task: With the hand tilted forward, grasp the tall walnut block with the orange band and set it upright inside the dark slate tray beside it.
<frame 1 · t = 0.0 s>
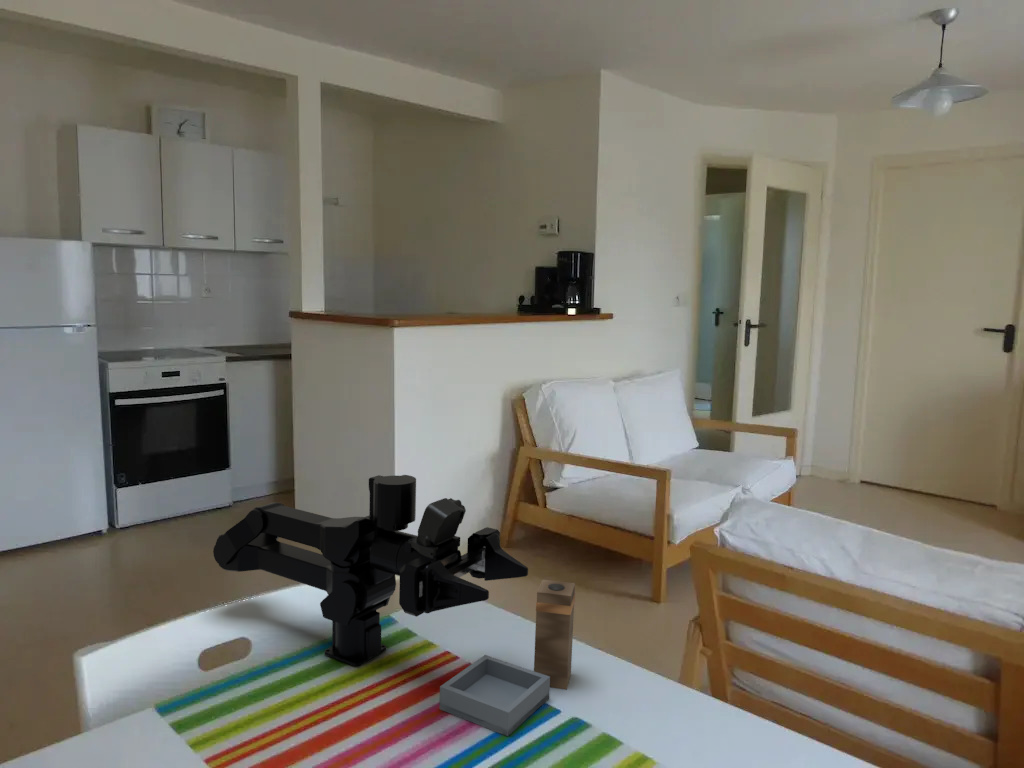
hand: (508, 583, 92), 16 cm above the table, tool horizontal, fingers open, 9 cm apart
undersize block: (552, 678, 102), on the table
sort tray: (495, 703, 95), on the table
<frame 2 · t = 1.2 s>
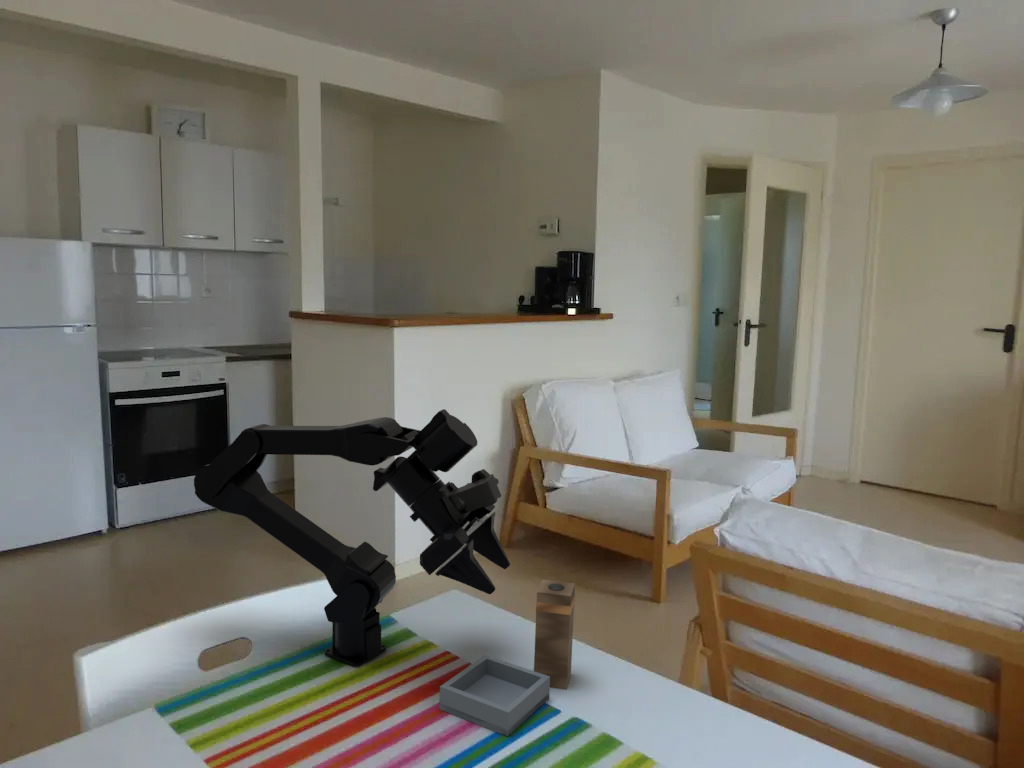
hand: (500, 578, 102), 13 cm above the table, tool tilted 45°, fingers open, 9 cm apart
nothing on the table moved.
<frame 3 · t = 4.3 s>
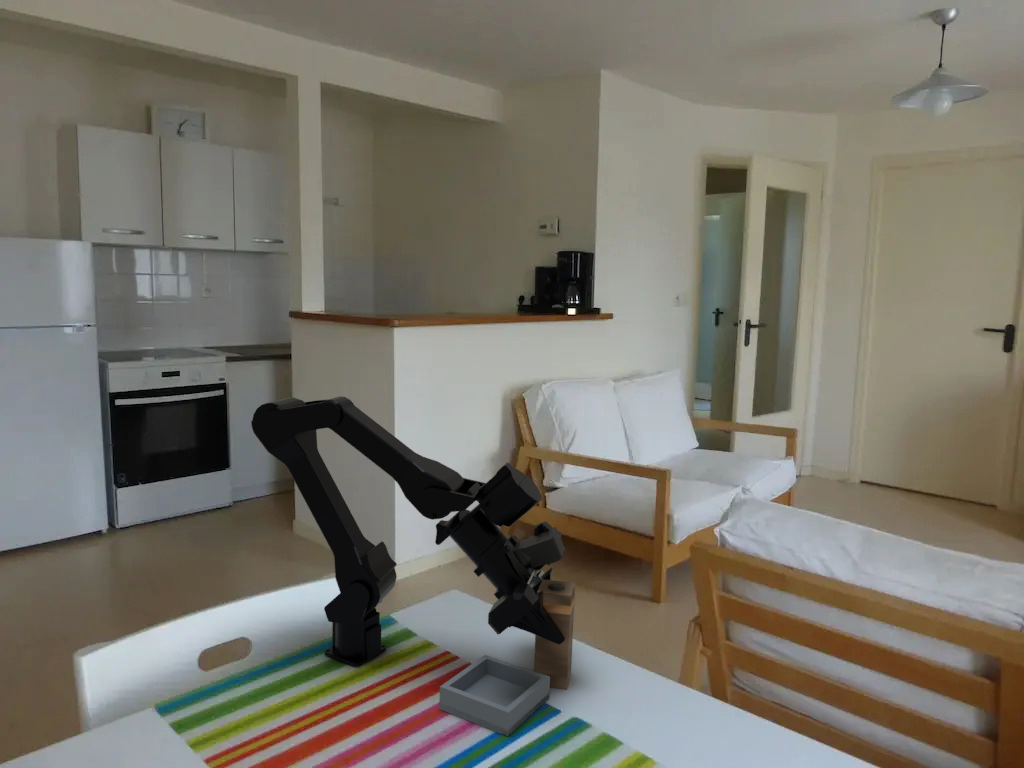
hand: (564, 633, 101), 7 cm above the table, tool tilted 45°, fingers closed on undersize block, 4 cm apart
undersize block: (552, 678, 102), on the table, touching gripper
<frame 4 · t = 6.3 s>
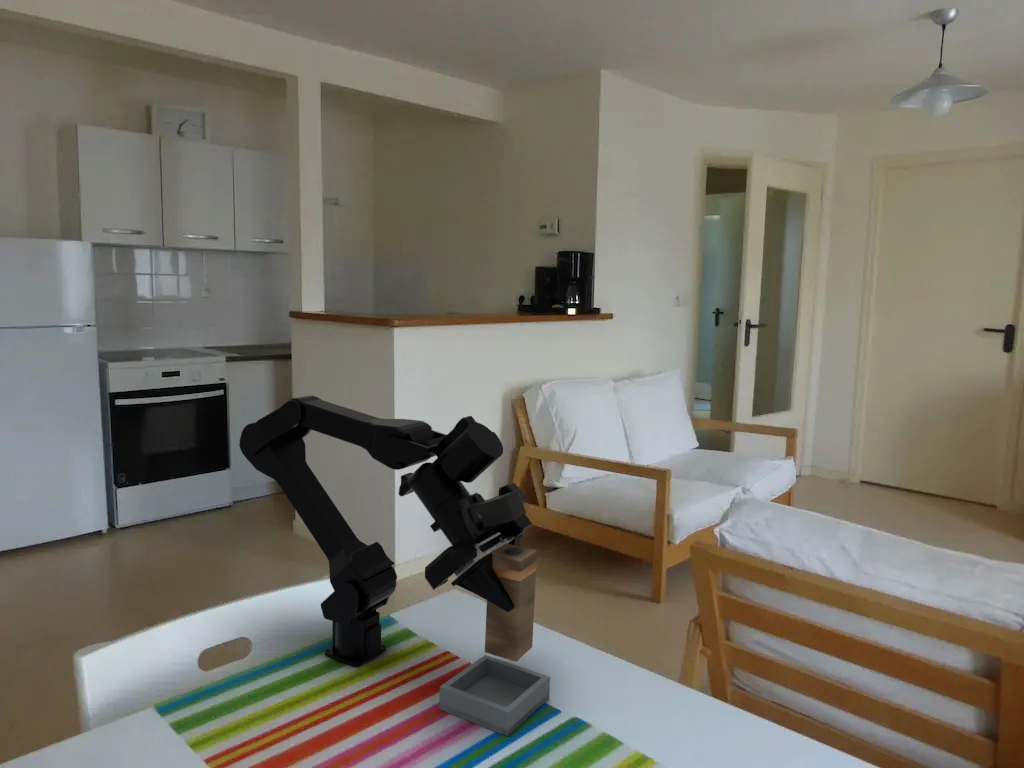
hand: (520, 602, 94), 13 cm above the table, tool tilted 45°, fingers closed on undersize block, 4 cm apart
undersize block: (508, 649, 95), point 7 cm above the table, touching gripper
when the fingers open (9 cm above the table, at t = 8.3 s): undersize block drops 2 cm, resting on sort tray.
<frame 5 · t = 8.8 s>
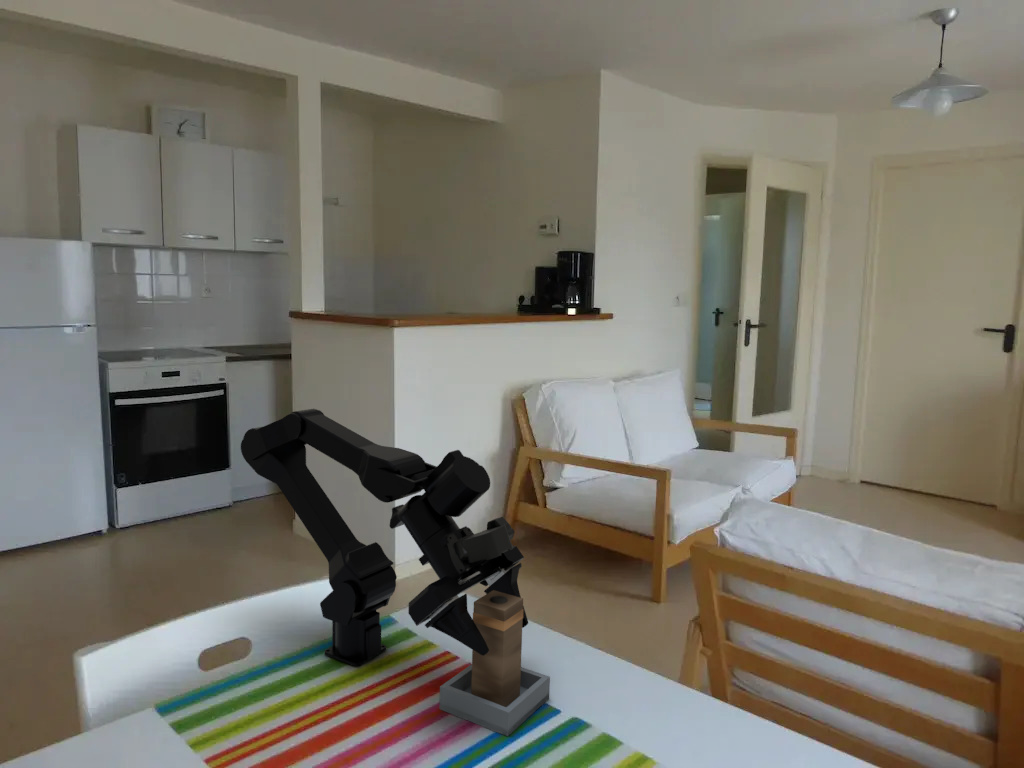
hand: (506, 639, 93), 9 cm above the table, tool tilted 45°, fingers open, 9 cm apart
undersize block: (495, 697, 95), point 1 cm above the table, touching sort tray
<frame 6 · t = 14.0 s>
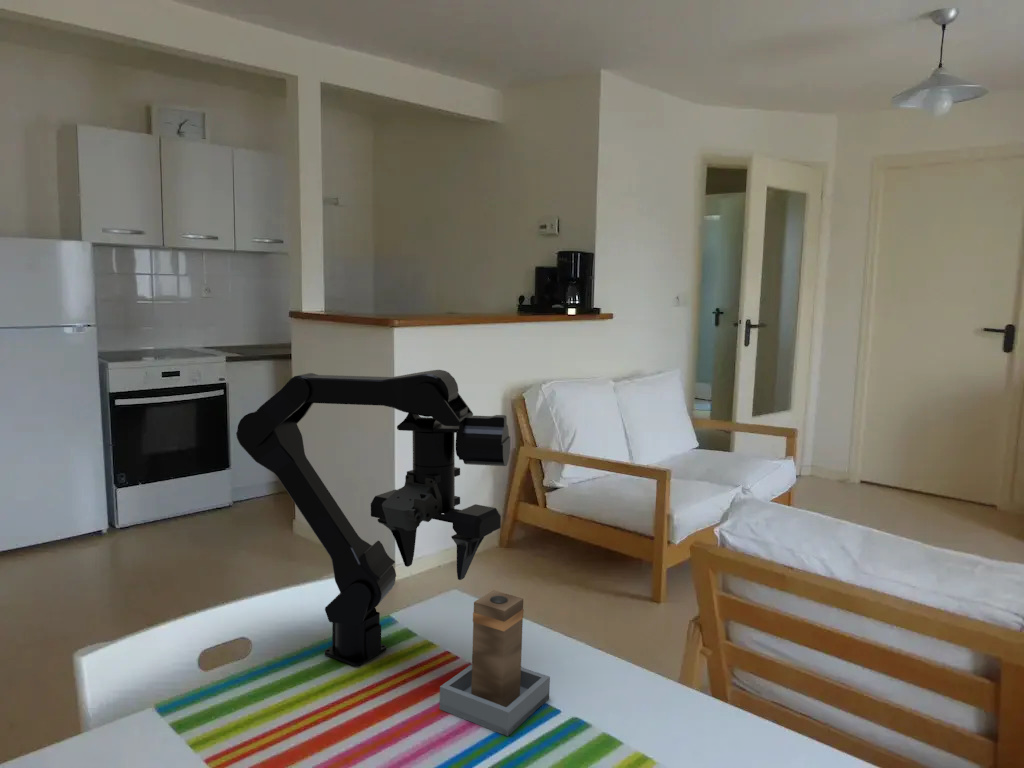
hand: (434, 572, 104), 13 cm above the table, tool pointing down, fingers open, 9 cm apart
nothing on the table moved.
at the end: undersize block 0.0 cm off-centre on the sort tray, point 0.8 cm above the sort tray's base; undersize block tilted 0°; the gripper is holding nothing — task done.
